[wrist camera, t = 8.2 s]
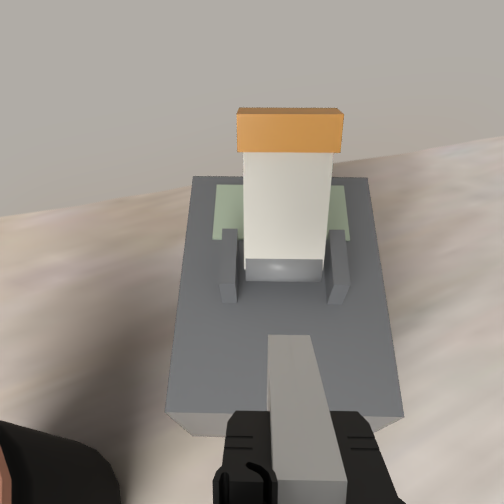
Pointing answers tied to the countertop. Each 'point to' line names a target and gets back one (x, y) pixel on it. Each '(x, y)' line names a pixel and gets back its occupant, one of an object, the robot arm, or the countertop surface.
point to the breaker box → (278, 314)
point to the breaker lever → (287, 189)
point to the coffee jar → (52, 470)
